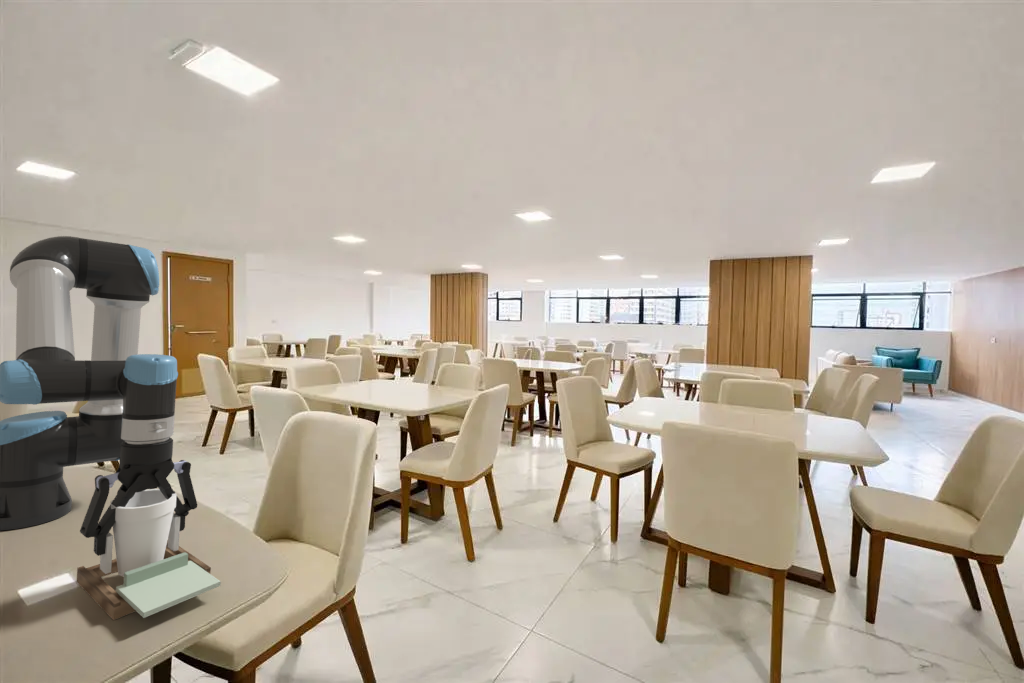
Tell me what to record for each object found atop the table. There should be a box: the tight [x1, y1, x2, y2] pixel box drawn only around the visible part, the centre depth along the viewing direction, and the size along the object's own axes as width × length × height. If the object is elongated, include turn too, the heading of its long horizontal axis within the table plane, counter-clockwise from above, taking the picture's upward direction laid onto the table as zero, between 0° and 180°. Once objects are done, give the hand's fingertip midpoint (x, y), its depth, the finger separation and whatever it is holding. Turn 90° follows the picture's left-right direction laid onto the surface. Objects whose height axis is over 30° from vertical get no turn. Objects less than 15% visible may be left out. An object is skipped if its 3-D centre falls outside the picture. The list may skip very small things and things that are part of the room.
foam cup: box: [109, 488, 178, 578], centre depth 82 cm, size 10×9×13 cm
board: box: [76, 540, 212, 621], centre depth 81 cm, size 17×14×3 cm
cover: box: [115, 552, 222, 619], centre depth 76 cm, size 11×11×3 cm
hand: (140, 558), depth 82 cm, fingers closed on foam cup, 9 cm apart
